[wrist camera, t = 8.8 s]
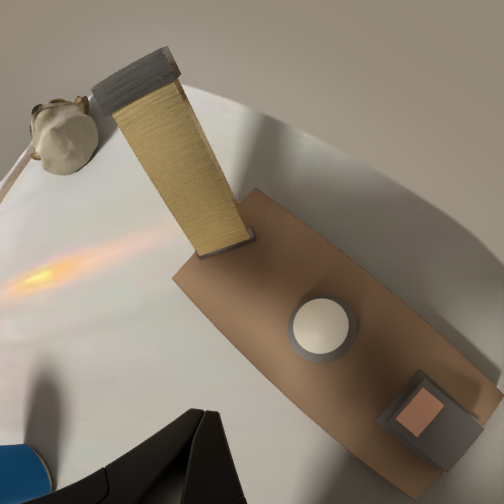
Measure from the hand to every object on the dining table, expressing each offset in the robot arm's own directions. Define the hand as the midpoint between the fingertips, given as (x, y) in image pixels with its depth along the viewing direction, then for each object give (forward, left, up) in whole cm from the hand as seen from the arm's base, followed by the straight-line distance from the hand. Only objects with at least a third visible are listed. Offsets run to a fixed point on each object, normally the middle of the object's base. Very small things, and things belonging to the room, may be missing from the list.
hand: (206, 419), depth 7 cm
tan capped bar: (+8, +4, -8) cm, 12 cm away
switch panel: (+3, -3, -10) cm, 11 cm away
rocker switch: (0, -9, -8) cm, 12 cm away
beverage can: (-19, +20, -10) cm, 30 cm away
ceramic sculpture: (+18, +29, -10) cm, 36 cm away
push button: (+4, -2, -8) cm, 9 cm away
